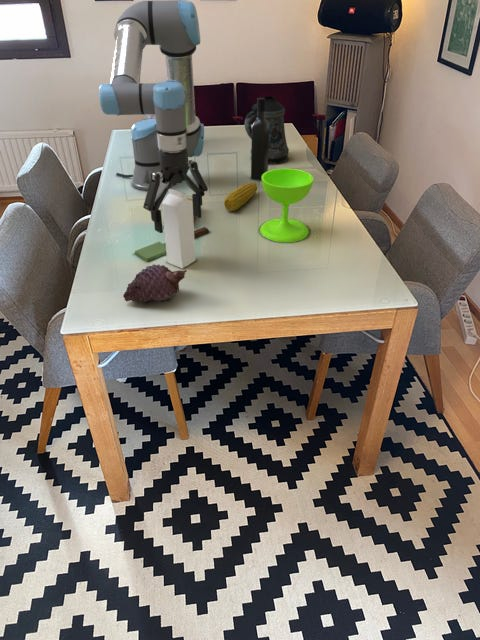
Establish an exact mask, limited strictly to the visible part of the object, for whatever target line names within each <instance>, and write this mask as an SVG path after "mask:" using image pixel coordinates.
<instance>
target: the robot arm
mask: <svg viewBox="0 0 480 640" xmlns="http://www.w3.org/2000/svg"><path fill="white" fill-rule="evenodd" d="M113 31H114V32H113V36H114V40H115V50H114V57H113V61H112V62H113V63H112V68H111V76H110V82H107V83H102V84H101V85H99V89H98V97H99V99H98V100H99V104H100V108H101V112H102V113H103V114H105V115H109V116H135V115H137V116H139V115H141V116H142V115H143V116H146V115H155V117H156V119H147V118H146V119H147V120H143V119H142V120H139V121H137V122H136V123H134V124H133V125H132V126H131V128H130V130H131V131H130V132H131V143H132V150H133V159H134V168H133V173H132V174H124V173H120V172H116V173H115V175H116V176H119V177H122V178H132V179H131V182H132V186H133V187H134V189H137V190H141V191H147V192H146V195H145V199H144V202H143V205H142V207H143V209H145V210H147V211H148V212H150V218H151V221H152V222H153V224H154V231H156V232H158V233H160V234H162V233H164V229H163V228H164V226H163V219H162V218H163V216H162V210H161V209H160V207H161V206H162V202H163V201H164V199H165V198H166V196H167V194H168V192H169V191H168V190H169V189H172V186H173V187H175V186H176V185H178V184H183V182H184V183H185V184H186V186H188V188H190V190H191V191H192V192H193V193H192V195H191V197H192V199H193V215H194V216H195V217H196V218H198V219H201V218H202V205H203V197H205V194H206V193H205V192H208V191H209V188H208V186H207V184H206V182H205V180H204V178H203V176H202V174H201V172H200V169H199V165H198V162H197V161H194V160H192V159H189V158H193V157H200V156H201V155H202V153H203V150H204V139H205V138H204V137H205V125H204V123H201V121H200V118H199V117H198V116H196V103H195V88H194V87H195V84H194V69H193V54H194V53H195V52H196V51H197V46H198V45H200V44H201V32H200V23H199V16H198V13H197V8H196V5H195V4H194V2H193V1H189V0H141V1H138V2H135V3H133V4H131V5H130V6H129V7H127V8H126V9H125V10H124V11H123V12H122V13H121V15H120V16H119V17H118V19H117V21H116V23H115V26H114V30H113ZM146 46H158V47H159V52H160V53H161V54H162V55H163V56H164V59H165V68H166V79H167V80H165V81H161V82H151V83H149V82H148V83H141V74H142V63H143V61H142V60H143V52H144V49H145V48H146ZM189 171H190V173H191V176H192V177H193V179H194V181H195V182H194V181H193V180H192V178H191V177H190V176H189V175H188V172H189Z"/></svg>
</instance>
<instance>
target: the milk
mask: <svg viewBox="0 0 480 640" xmlns="http://www.w3.org/2000/svg"><path fill="white" fill-rule="evenodd" d="M167 192H168V193H167V194H166V195H165V197H164V199H163V201H162V203H161V209H162V218H163V219H162V220H163V228H164V229H163V231H164V240H165V243H166V252H167V254H166V262H167V263H168V264H170V265H173V266H175V267H177V268H180V269H185V268H186V267H187V266H189V265H191V264H193V263H194V262H196V242H195V238H194V231H195V224H194V222H195V221H194V219H193V204H192V201H191V200H188V199H185V198H186V194H185V193H184V192H183V191H178V190H176V189H173V188H170V189H169V190H168V191H167Z"/></svg>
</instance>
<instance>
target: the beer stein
mask: <svg viewBox="0 0 480 640" xmlns="http://www.w3.org/2000/svg"><path fill="white" fill-rule="evenodd" d="M263 98H265V116H264V118H265V120H266V121H267V122H268V124H269V148H268V165H279V164H282V163H283V164H284V163H286V161H287V160H288V156H289V153H290V150H289V146H288V143H287V138H286V137H287V136H286V130H285V119H284V115H285V113H286V109H285V107H284V106H283V105H282V104H281V103H280V102H279V101H277V98H276V97H275V96H265V97H263ZM256 119H257V103H255V104H253V105H252V107H251V111H249V112H248V113H246V116H245V119H244V129H245V132H246V134H247V136H248V137H249V139H250V140H252V124H253V123H252V122H254V121H253V120H256Z"/></svg>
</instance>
